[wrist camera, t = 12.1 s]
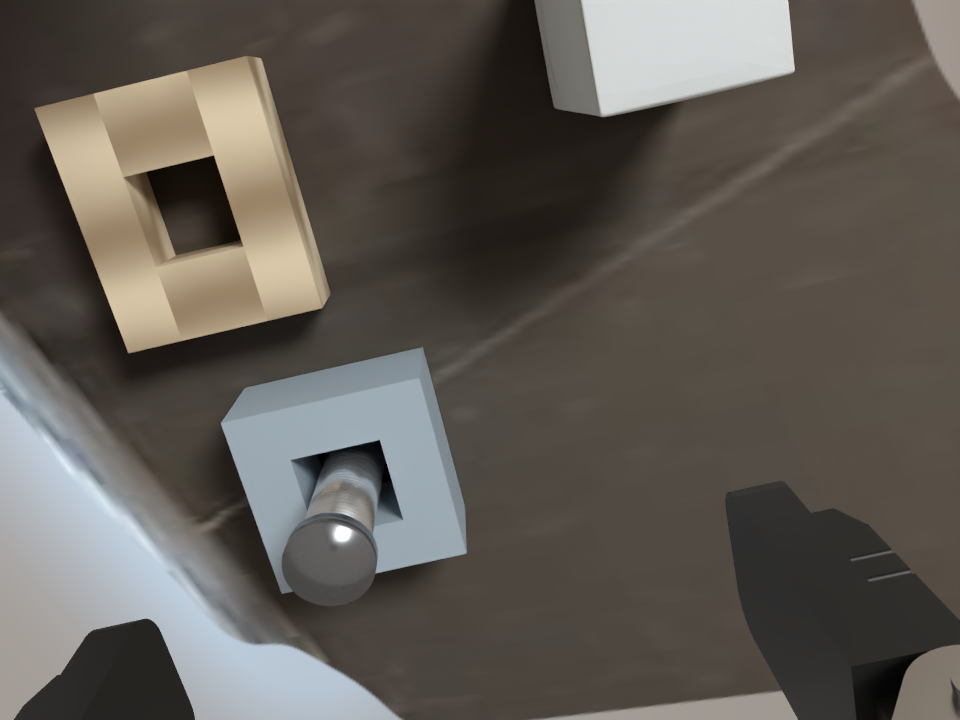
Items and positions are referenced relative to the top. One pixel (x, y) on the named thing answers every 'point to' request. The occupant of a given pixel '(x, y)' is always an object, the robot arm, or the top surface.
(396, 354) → the socket
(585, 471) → the top surface
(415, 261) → the top surface
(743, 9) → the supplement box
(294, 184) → the mount
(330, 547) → the pin
